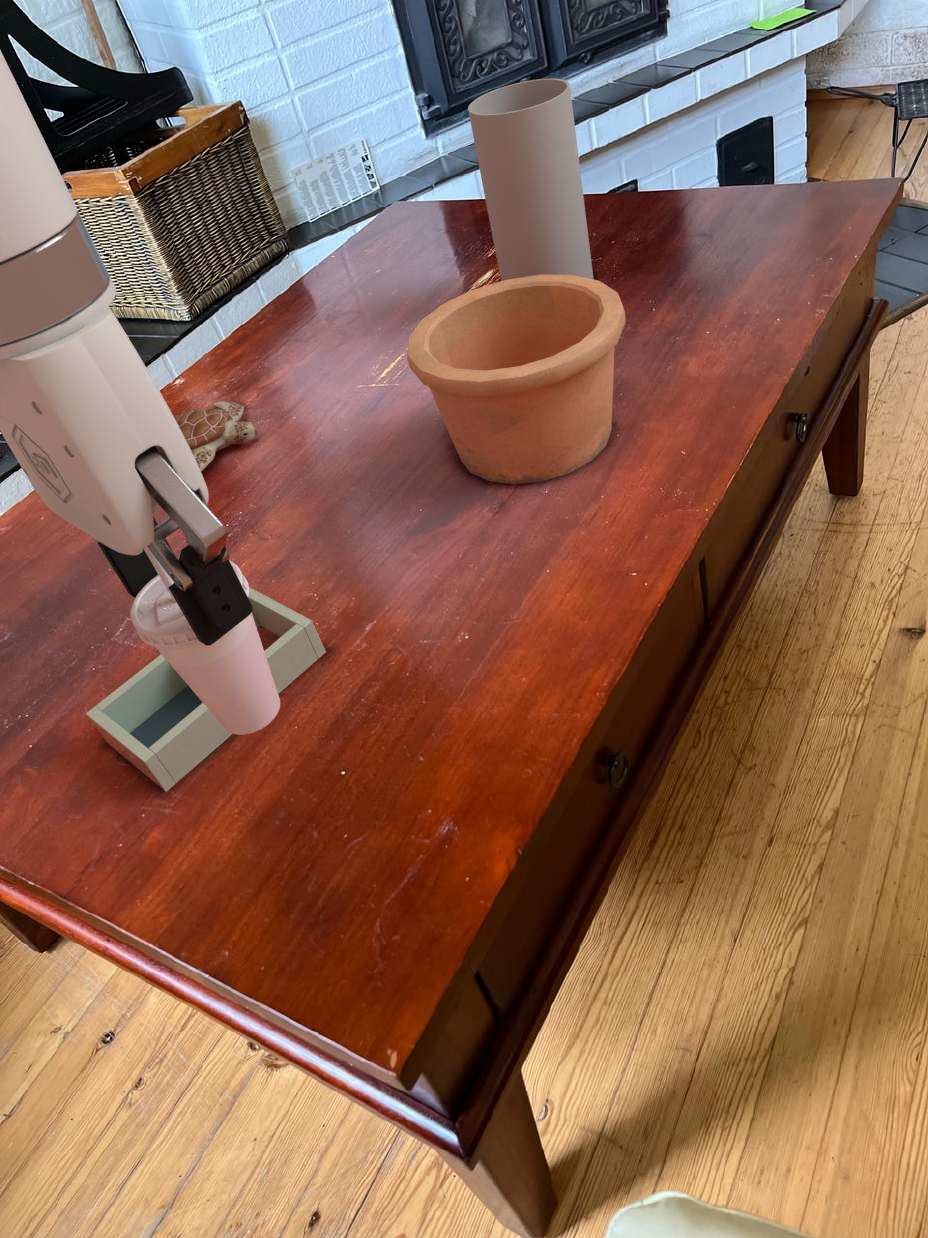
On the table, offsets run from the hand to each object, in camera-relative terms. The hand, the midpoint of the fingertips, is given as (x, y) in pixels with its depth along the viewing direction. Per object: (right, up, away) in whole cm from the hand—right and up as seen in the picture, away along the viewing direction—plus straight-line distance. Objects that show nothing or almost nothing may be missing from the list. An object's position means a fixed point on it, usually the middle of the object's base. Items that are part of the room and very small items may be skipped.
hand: (189, 602), depth 49 cm
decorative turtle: (-18, +20, +67) cm, 72 cm away
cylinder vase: (+27, +44, +78) cm, 94 cm away
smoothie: (+2, -7, +6) cm, 9 cm away
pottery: (+23, +18, +51) cm, 59 cm away
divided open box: (-7, -8, +32) cm, 33 cm away
